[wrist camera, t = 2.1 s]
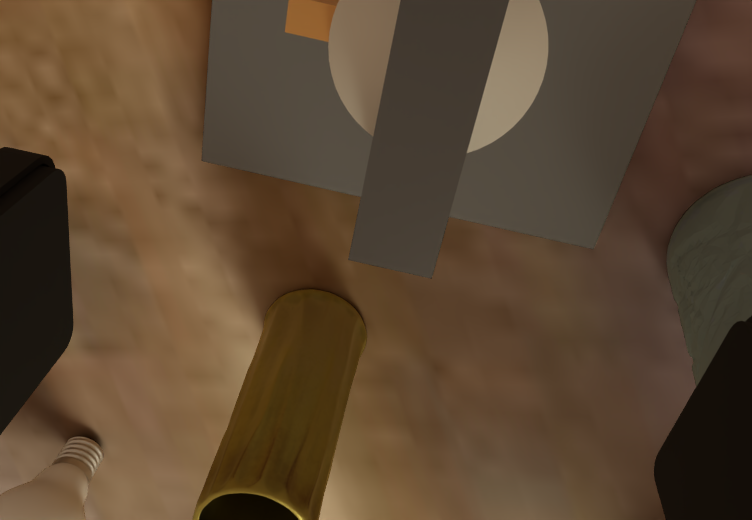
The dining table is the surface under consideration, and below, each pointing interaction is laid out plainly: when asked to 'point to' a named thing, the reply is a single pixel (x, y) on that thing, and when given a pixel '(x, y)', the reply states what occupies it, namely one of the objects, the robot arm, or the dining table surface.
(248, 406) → the vase
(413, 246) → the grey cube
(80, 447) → the lightbulb
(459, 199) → the post base
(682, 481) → the robot arm
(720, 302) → the grey-green cup
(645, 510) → the dining table surface
